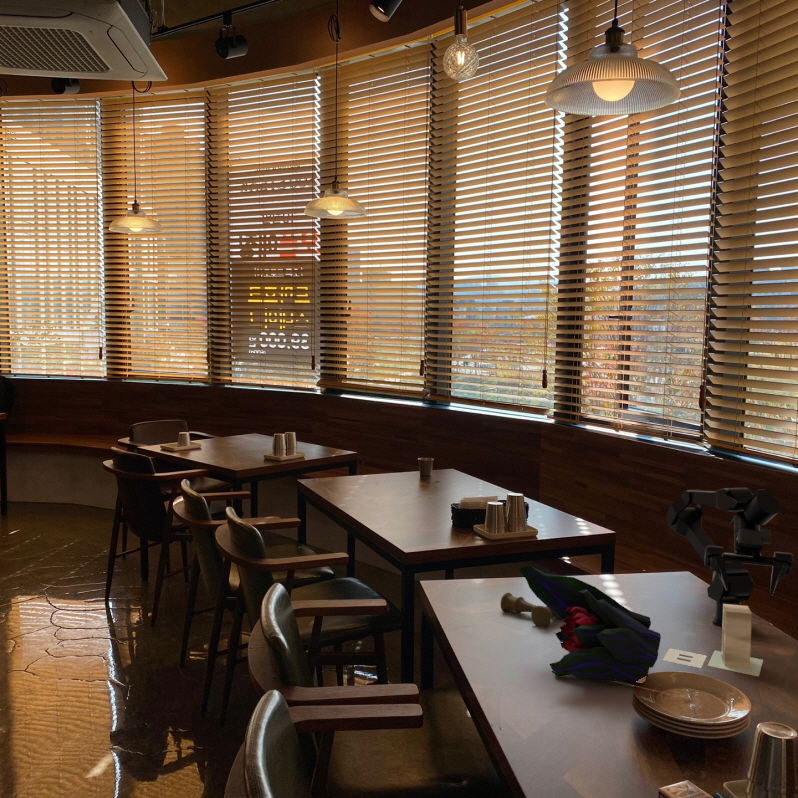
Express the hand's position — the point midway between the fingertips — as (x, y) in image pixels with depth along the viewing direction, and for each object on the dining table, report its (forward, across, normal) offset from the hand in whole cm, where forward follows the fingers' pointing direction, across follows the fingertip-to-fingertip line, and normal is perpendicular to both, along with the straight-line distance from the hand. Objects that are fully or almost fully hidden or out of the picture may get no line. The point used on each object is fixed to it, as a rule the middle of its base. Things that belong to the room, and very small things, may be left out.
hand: (749, 592), depth 170 cm
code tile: (+17, -13, +2) cm, 22 cm away
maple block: (+16, -3, +3) cm, 16 cm away
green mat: (+16, -3, +3) cm, 17 cm away
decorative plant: (+29, -33, -10) cm, 45 cm away
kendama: (+8, -48, +12) cm, 51 cm away
